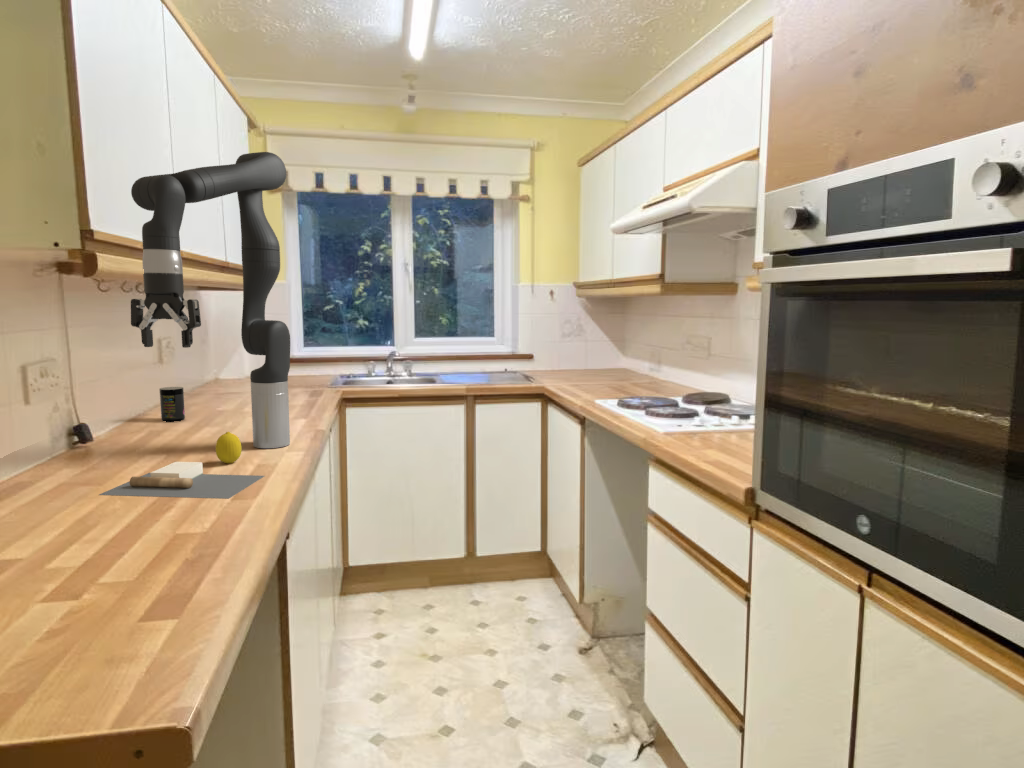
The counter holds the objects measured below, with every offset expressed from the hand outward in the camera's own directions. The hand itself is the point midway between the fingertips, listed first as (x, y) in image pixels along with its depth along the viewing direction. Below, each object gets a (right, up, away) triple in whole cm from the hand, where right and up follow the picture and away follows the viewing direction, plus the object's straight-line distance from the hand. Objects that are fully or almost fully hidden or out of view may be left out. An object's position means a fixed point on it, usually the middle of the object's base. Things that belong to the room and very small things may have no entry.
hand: (167, 347), depth 137 cm
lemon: (+9, -27, +10) cm, 31 cm away
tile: (+4, -28, -8) cm, 29 cm away
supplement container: (-33, -20, +63) cm, 73 cm away
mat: (+8, -29, -8) cm, 31 cm away
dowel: (+4, -30, -9) cm, 31 cm away
